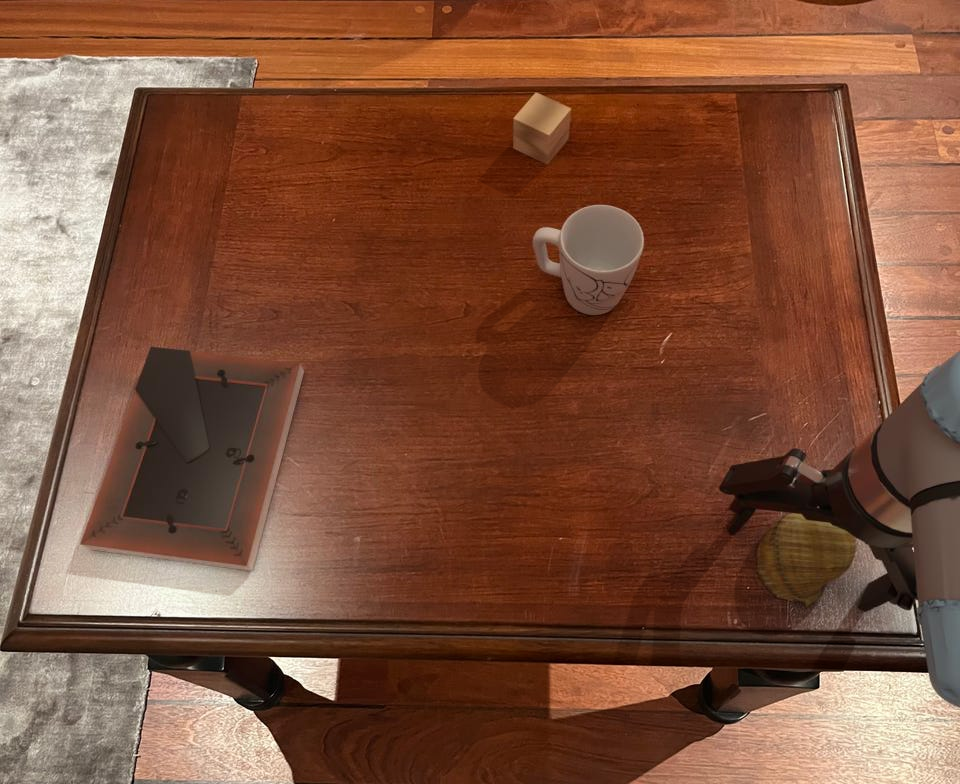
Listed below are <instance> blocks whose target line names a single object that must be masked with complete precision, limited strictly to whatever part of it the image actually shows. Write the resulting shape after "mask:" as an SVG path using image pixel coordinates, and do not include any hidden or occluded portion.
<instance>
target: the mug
mask: <svg viewBox="0 0 960 784" xmlns="http://www.w3.org/2000/svg"><path fill="white" fill-rule="evenodd" d="M546 243H549V244H551V245H553V246H556V247H557V248H558V250H559V263H558V262H555V261H552V260H551V259H550V258H549V256H548V249H547V244H546ZM644 244H645V238H644V233H643V230H642V228H641V225H640V224H639V222H638V221H637V220H636V219H635V217H634V216H632V215H631V214H630V213H629V212H627V211H625V210H623V209H622V208H619V207H616V206H612V205H608V204H594V205H588V206H585V207H582V208H580V209H578V210H575V212H573V213H572V214H571V215H569V216H568V217H567V219H566V220H565V221H564V223H563V225H562V227H561V229H559V228H558V229H557V228H554V227H548V226H545V227H540V228H538V229H537V230H536V232H535V233H534V235H533V237H532V249H533V251H534V254H535V259H536V264H537V266H538V268H539V269H540V270H541V271H542V272H544V273H546V274H548V275H551V276H554V277H559V278H561V282H562V286H563V287H562V288H563V291H564V295H565V298H566V301H567V302H568V304H569V305H570V306H571V307H572V308H573V309H574V310H576V311H577V312H579V313H582V314H584V315H589V316H600V315H603V314H604V315H605V314H606V313H609V312H610V311H612V310H613V309H615V307H617V305H618V304H619V303H620V301H621V300H622V298H623V296H624V294H625V292H626V291H627V289H628V287H629V286H630V284H631V282H632V280H633V279H634V278H633V277H634V275H635V273H636V271H637V267H638V265H639V262H640V261H641V260H640V259H641V257H642V253H643V250H644V247H645V245H644Z"/></svg>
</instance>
